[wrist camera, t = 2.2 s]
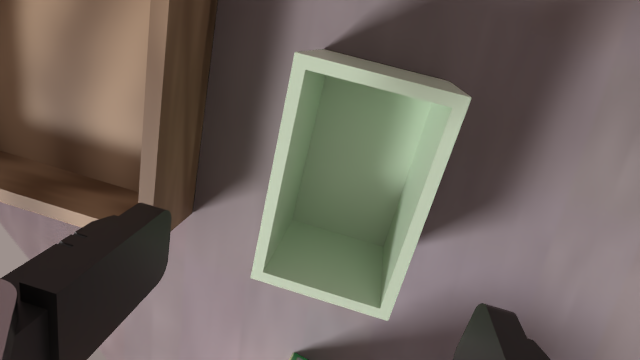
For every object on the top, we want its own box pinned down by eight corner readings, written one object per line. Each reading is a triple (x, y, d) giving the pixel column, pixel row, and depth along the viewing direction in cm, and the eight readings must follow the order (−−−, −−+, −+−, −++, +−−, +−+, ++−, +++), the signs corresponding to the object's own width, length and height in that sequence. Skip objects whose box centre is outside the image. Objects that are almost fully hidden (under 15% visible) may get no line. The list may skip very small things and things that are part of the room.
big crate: (223, -51, 19) (175, -77, 15) (192, 213, 24) (149, 248, 20) (-32, -111, 20) (-144, -152, 16) (-8, 152, 25) (-87, 174, 21)
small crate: (449, 80, 19) (472, 97, 13) (389, 252, 23) (388, 321, 17) (323, 48, 19) (294, 52, 14) (284, 221, 23) (250, 278, 18)
